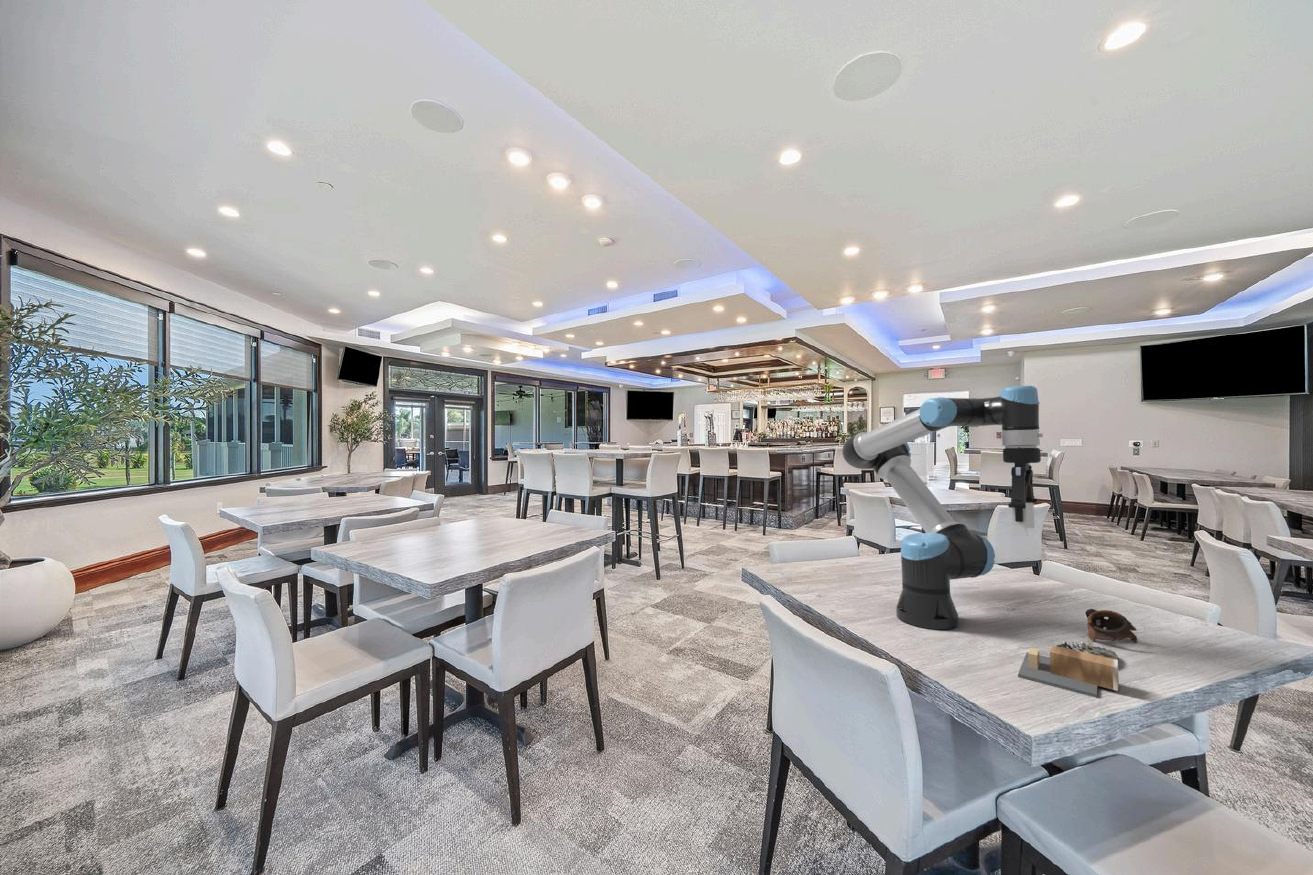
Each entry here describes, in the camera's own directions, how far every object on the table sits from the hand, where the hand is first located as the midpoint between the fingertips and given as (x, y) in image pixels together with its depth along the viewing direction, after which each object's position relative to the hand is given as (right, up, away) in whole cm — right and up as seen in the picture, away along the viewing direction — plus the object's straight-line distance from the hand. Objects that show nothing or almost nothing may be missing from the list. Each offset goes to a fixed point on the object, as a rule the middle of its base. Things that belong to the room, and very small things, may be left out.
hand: (1024, 531), depth 117 cm
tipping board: (-8, -26, -19) cm, 34 cm away
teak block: (-9, -24, -18) cm, 31 cm away
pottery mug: (+19, -27, -3) cm, 33 cm away
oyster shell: (+6, -27, -11) cm, 30 cm away
